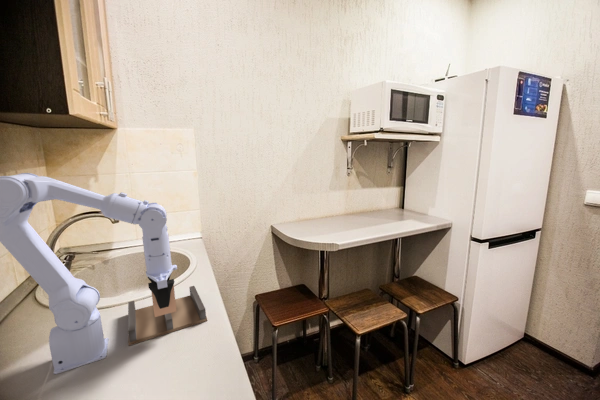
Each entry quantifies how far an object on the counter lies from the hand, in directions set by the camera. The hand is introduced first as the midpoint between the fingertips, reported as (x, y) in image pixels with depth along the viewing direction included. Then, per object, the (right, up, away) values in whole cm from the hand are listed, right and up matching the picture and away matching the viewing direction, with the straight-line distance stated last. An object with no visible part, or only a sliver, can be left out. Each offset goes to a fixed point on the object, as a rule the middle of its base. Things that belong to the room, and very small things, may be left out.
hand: (163, 302), depth 72 cm
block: (0, -2, 0) cm, 2 cm away
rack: (-3, -8, +9) cm, 12 cm away
